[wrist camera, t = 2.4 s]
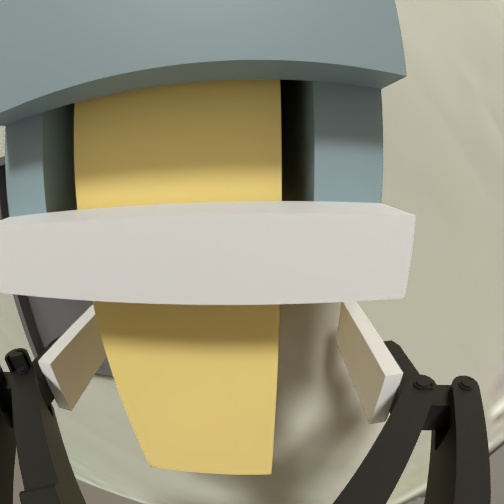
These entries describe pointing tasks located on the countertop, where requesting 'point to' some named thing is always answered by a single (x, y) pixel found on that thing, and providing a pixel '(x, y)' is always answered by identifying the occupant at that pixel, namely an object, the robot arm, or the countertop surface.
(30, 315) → the tray
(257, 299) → the dispenser
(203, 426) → the yellow tall slab
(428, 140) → the countertop surface
